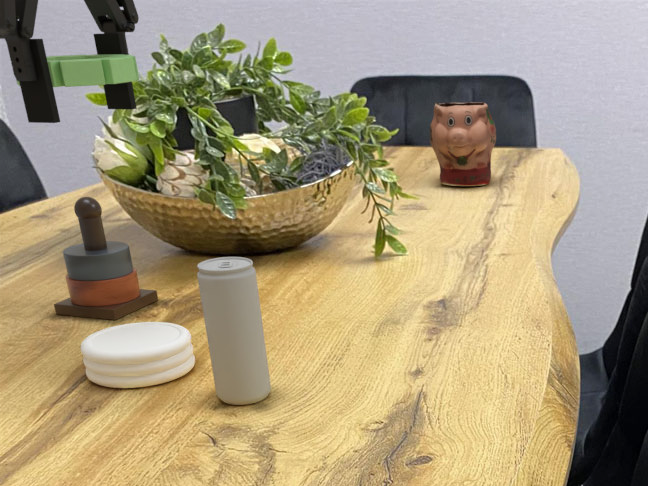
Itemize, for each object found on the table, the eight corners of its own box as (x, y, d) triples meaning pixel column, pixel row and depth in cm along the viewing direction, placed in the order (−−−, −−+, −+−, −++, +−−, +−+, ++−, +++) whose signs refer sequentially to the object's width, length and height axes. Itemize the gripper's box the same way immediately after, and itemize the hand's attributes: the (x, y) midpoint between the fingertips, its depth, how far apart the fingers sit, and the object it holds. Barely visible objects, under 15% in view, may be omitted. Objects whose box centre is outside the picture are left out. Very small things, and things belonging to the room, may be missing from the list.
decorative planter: (430, 173, 189) (427, 97, 182) (492, 172, 189) (491, 95, 183) (432, 193, 171) (428, 108, 165) (501, 191, 172) (500, 107, 165)
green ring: (-8, 86, 84) (-14, 61, 83) (70, 77, 92) (65, 54, 91) (88, 87, 81) (83, 61, 80) (159, 78, 90) (155, 54, 89)
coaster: (81, 395, 87) (73, 358, 86) (92, 359, 96) (84, 325, 94) (196, 383, 90) (190, 347, 88) (196, 349, 98) (190, 316, 97)
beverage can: (214, 408, 84) (192, 272, 79) (219, 388, 88) (198, 258, 83) (271, 404, 85) (252, 269, 79) (272, 384, 89) (255, 254, 84)
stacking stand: (55, 314, 110) (29, 202, 104) (101, 295, 116) (79, 188, 110) (115, 320, 107) (91, 205, 101) (158, 300, 114) (138, 191, 108)
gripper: (-47, -208, 67) (31, 131, 78) (149, -166, 86) (191, 103, 97) (-131, -200, 69) (-44, 130, 80) (79, -160, 88) (127, 102, 99)
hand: (85, 115), depth 88 cm, fingers closed on green ring, 10 cm apart
